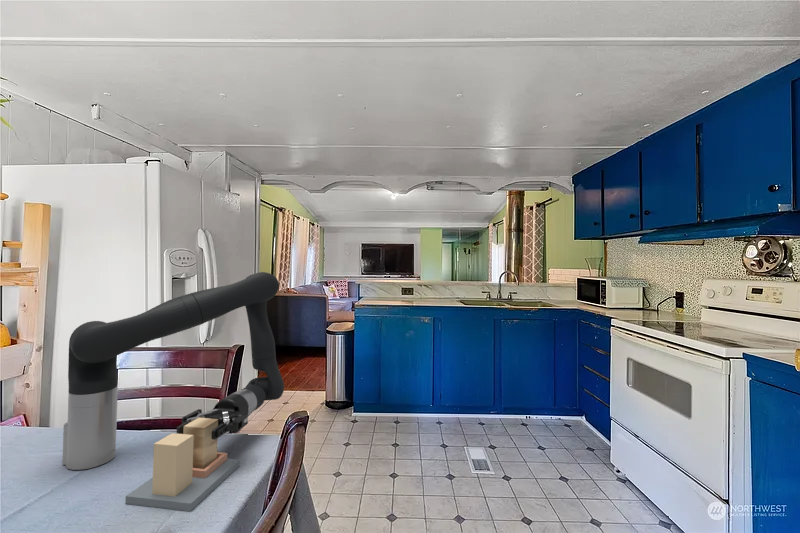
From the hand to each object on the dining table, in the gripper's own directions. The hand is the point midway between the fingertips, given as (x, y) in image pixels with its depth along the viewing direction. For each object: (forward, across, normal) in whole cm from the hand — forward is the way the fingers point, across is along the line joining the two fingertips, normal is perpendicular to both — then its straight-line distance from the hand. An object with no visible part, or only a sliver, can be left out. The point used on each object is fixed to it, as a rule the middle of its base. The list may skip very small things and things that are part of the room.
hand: (195, 433), depth 84 cm
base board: (+2, 0, +10) cm, 10 cm away
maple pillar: (-2, 0, +8) cm, 9 cm away
